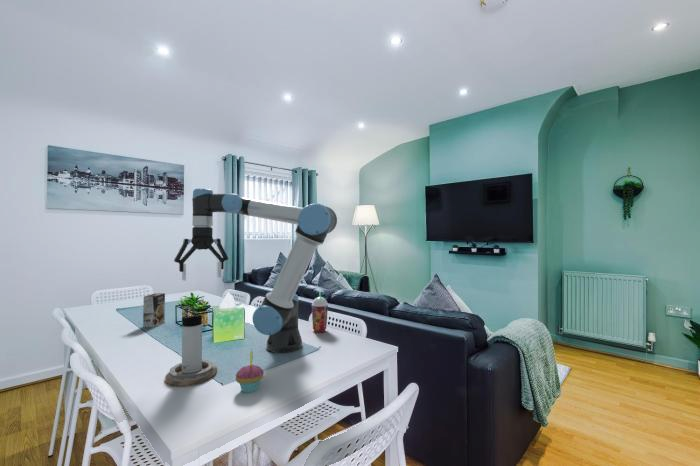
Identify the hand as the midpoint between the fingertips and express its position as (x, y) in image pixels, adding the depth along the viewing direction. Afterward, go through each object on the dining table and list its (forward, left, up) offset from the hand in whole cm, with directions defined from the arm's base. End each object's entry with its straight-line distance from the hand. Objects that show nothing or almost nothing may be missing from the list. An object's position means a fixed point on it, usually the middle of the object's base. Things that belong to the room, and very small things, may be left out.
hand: (202, 278), depth 131 cm
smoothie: (-41, -37, -31) cm, 63 cm away
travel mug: (-9, +19, -30) cm, 37 cm away
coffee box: (+48, -33, -31) cm, 66 cm away
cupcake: (-33, +25, -31) cm, 52 cm away
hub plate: (-9, +19, -30) cm, 37 cm away
